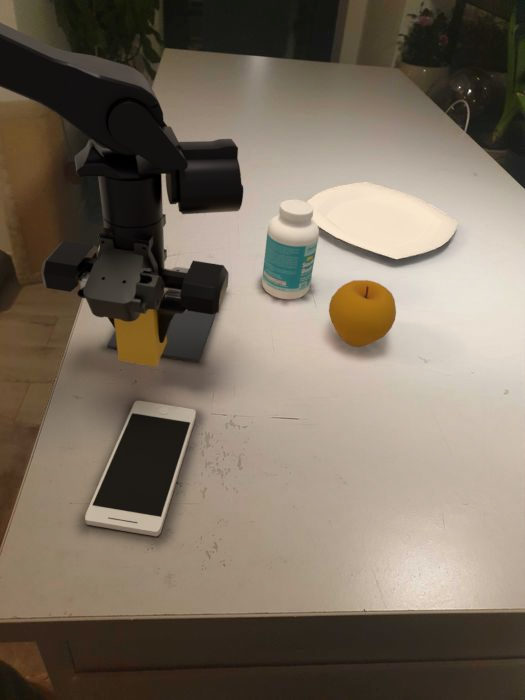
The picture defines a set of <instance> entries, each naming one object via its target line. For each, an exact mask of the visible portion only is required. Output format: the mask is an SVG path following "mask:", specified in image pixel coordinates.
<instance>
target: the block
mask: <svg viewBox="0 0 525 700" xmlns="http://www.w3.org/2000/svg"><path fill="white" fill-rule="evenodd" d="M164 294H165V293H163V296H164ZM163 296H162V298H163ZM159 319H160V312H159V310H158V309H157V310H152V309H149V310H147V312H146V314H143V313H141V314H140V316H139V317H138V319H136V320H135V321H131V322H127V321H122V320H120V319H115V318H114V323H115V328H114V332H116V340H117V349H118V350H117V349H116V350H117V356H118V357H117V358H118V361H119V362H125V363H132V364H137V365H143V366H149V367H154V368H155V367H157V366H158V364H159V361H160V359H161V358H162V357H161V355H162V353H163V350H164V348H165V346H166V344H167V335H166V337H165V340H164V342H163V343H160V340H159Z"/></svg>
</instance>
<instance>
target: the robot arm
mask: <svg viewBox="0 0 525 700" xmlns="http://www.w3.org/2000/svg"><path fill="white" fill-rule="evenodd" d="M0 88H2V89H5V90H8V91H10V92H12V93H15V94H17V95H19V96H22V97H24V98H27V99H29V100H32V101H33V102H36V103H39V104H41V105H42V106H44V107H45V108H47V109H49V110H51V111H52V112H54V113H55V114H56V115H58V116H59V117H60V118H62V119H63V120H64V121H65V122H67V123H68V124H69V125H71V126H72V127H73V128H74V129H76V130H77V131H78V132H80V133H81V134H83V135H84V136H87V138H89V140H88V141H87V144H86V145H85V147H84V148H83V149H81V150H80V151H79V152H78V153H76V155H74V163H75V164H74V165H75V172H76V176H78V177H80V178H93V177H94V178H96V177H97V178H98V186H99V196H100V204H101V205H100V206H101V213H102V221H103V228H102V229H101V231H100V232H99V234H98V235H99V240H98V245H99V247H97V246H96V245H95V244H89V243H83V242H77V241H76V242H75V241H71V240H63V241H61V243H59V244H58V245H57V247H56V248H55V249H54V250H53V251H52V252H51V254H50V255H49V256H48V257H47V258H46V259H45V260H44V261H43V262H42V264H41V269H40V273H41V278H42V283H43V285H44V287H45V288H46V289H50V290H57V291H63V292H69V293H71V292H72V291H74V290H75V289H76V288H77V287H78V286H79V289H78V291H77V293H76V294H77V296H78V297H79V298H81V299H84V300H86V302H87V305H88V307H89V309H90V312H91V313H92V315H93V316H95V317H97V318H107V319H108V321H109V322H110V324H111V325H112V327H113V329H115V323H114V318H115V319H120V320H122V321H127V322H131V321H135V320H136V319H138V317H139V316H140V314H141V313H143V314H146V312H147V310H149V309H152V310H157V309H158V310H159V312H160V319H159V340H160V343H163V342H164V340H165V337H166V335H167V332H168V329H169V327H170V324H171V322H172V319H173V317H174V315H175V314H176V313H178V314H183V313H185V312H186V311H187V310H188V311H193V312H199V313H205V314H211V315H213V314H215V313H216V314H219V313H220V310H221V307H222V304H223V301H224V298H225V295H226V293H227V289H228V287H229V276H230V275H229V274H230V273H229V271H228V270H227V268H226V267H225V265H224V264H217V263H210V262H204V261H199V260H192V261H191V264H190V265H189V268H187V267H181V266H180V267H179V266H176V267H173V268H165V267H166V266H165V265H166V264H165V262H166V260H167V258H168V249H165V239H164V238H165V237H164V227H165V226H166V224H167V217H166V215H167V214H165V213H164V209H163V207H164V206H163V205H164V204H163V182H162V181H163V179H162V175H164V174H165V188H166V194H167V195H166V196H167V200H168V203H169V205H176V204H177V207H178V212H179V213H181V215H195V214H197V215H199V214H210V213H211V214H214V213H215V214H216V213H230V212H239V211H240V210H241V208H242V205H243V199H244V185H243V183H242V172H241V168H240V167H241V166H240V162H239V158H238V157H239V156H238V155H239V147H238V145H237V144H236V143H235V142H234V140H233V139H232V138H218V139H215V140H210V141H209V140H208V141H207V140H205V141H204V140H201V141H179V140H178V138H177V136H176V133H175V132H174V130H173V128H172V126H169V125H167V123H166V122H165V121H164V111H163V109H162V107H161V105H160V102H159V100H158V98H157V96H156V94H155V91H154V90H153V88H152V86H151V84H150V82H149V80H148V79H147V78H146V76H145V75H144V74H143V73H141V72H140V71H139V70H137V69H136V68H134V67H132V66H129V65H127V64H123V63H120V62H116V61H114V60H109V59H106V58H103V57H99V56H96V55H92V54H86V53H78V52H72V51H67V50H64V49H60V48H56V47H54V46H51V45H49V44H46V43H45V42H43V41H40V40H38V39H37V38H35V37H32V36H29V35H27V34H26V33H24V32H21V31H19V30H17V29H16V28H12V27H11V26H9V25H6V24H4V23H3V22H0ZM102 146H103V147H102ZM163 293H165V294H164V296H163ZM162 296H163V298H162Z"/></svg>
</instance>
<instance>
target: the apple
mask: <svg viewBox="0 0 525 700" xmlns="http://www.w3.org/2000/svg"><path fill="white" fill-rule="evenodd" d="M396 308H397V307H396V300H395V298H394V295H393V293H392V292H391V291H390V290H389V289H388V288H387V287H385V286H384V285H382V284H381V283H379V282H375V281H372V280H368V279H367V280H364V279H361V280H351V281H349V282H347V283H344V284H343V285H341V286H340V287H339V288H338V289H337V290H336V291H335V292H334V293H333V295H332V296H331V298H330V302H329V306H328V314H329V319H330V321H331V324H332V327H333V328H334V330H335V332H336V333H337V335H338V336H339V337H340V339H342V340H343V342H344V343H346V344H347V345H349V346H351V347H355V348H362V347H366V346H368V345H371V344H373V343H375V342H377V341H379V340H381V339H383V338H384V337H385V336H386V335H387V334H388V333H389V331H391V329H392V328H393V325H394V324H395V321H396V317H397V309H396Z"/></svg>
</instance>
